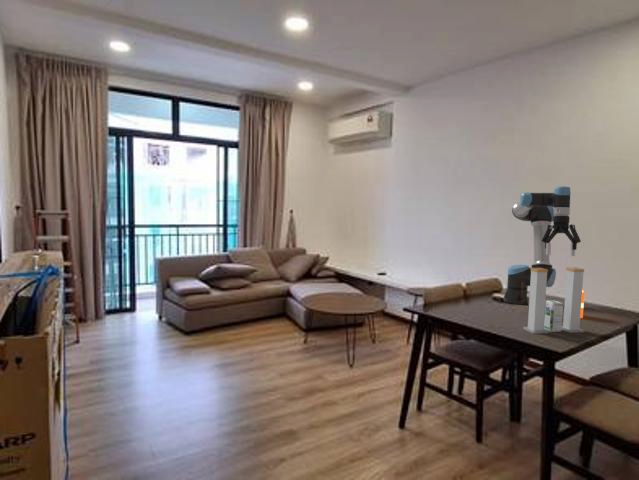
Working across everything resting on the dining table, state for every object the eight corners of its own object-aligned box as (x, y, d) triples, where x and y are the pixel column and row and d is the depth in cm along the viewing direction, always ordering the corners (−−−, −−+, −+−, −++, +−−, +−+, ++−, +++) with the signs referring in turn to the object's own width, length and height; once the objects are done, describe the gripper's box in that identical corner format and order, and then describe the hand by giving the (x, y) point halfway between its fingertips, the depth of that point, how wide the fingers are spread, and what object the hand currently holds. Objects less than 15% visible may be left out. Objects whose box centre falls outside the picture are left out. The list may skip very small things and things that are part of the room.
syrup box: (543, 328, 211) (545, 300, 210) (554, 328, 212) (556, 300, 210) (550, 332, 205) (552, 302, 204) (561, 331, 206) (563, 302, 205)
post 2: (569, 332, 205) (573, 269, 202) (558, 327, 213) (562, 267, 210) (584, 332, 206) (588, 269, 203) (572, 327, 214) (576, 267, 211)
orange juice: (581, 314, 238) (584, 280, 236) (582, 318, 230) (585, 282, 228) (565, 313, 241) (568, 278, 239) (566, 316, 233) (568, 281, 232)
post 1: (532, 333, 203) (536, 270, 200) (523, 328, 211) (526, 267, 208) (548, 333, 204) (552, 270, 201) (537, 328, 211) (541, 267, 208)
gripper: (535, 216, 234) (534, 254, 234) (580, 214, 211) (578, 256, 211) (544, 217, 237) (543, 254, 237) (589, 215, 215) (587, 256, 215)
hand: (560, 255), depth 224 cm, fingers open, 13 cm apart
